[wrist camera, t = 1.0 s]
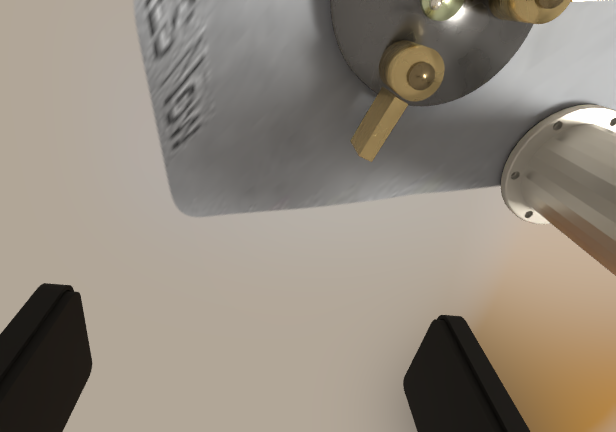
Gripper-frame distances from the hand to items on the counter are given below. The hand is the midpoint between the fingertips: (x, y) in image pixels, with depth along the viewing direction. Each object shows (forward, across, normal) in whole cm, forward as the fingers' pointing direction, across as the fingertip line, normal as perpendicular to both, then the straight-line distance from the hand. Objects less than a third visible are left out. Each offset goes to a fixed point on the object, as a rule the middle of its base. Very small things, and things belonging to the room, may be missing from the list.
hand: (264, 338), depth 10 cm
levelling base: (+25, -11, -10) cm, 29 cm away
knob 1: (+23, -9, -3) cm, 25 cm away
